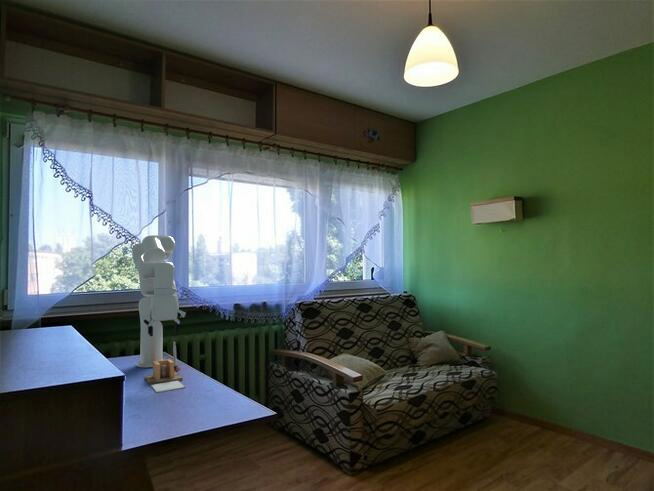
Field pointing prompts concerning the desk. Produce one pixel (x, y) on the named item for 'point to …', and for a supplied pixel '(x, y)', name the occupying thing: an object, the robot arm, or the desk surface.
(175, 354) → the tow hook
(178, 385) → the pad
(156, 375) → the c link
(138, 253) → the robot arm
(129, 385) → the desk surface
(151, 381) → the stand
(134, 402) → the desk surface
